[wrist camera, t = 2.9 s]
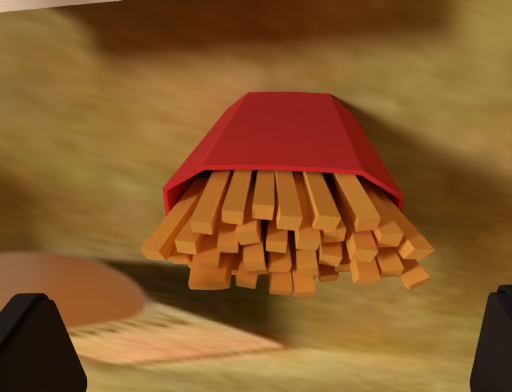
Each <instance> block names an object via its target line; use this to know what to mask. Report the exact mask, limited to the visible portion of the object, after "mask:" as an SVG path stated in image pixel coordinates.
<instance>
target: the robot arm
mask: <svg viewBox="0 0 512 392" xmlns="http://www.w3.org/2000/svg"><path fill="white" fill-rule="evenodd" d="M86 389H87V377H86V375H85V372H84V370H83V368H82V365H81V363H80V360H79V358H78V356H77V353H76V351H75V349H74V346H73V344H72V342H71V339H70V337H69V335H68V332H67V330H66V328H65V325H64V323H63V320H62V318H61V316H60V313H59V311H58V309H57V307H56V304H55V303H54V301H53V300H49V298H48V297H47V295H45V294H44V293H24V294H16V295H14V296H13V297H12V298H11V299H10V301H9V302H8V303H7V305H6V306H5V307H4V308H3V310H2V311H1V312H0V392H86ZM470 389H471V392H512V285H500V286H499V287H498V289H497V292H492V293H490V294H489V296H488V300H487V304H486V309H485V314H484V318H483V323H482V327H481V332H480V336H479V341H478V345H477V350H476V354H475V359H474V364H473V368H472V373H471V377H470Z"/></svg>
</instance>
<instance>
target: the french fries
mask: <svg viewBox="0 0 512 392" xmlns="http://www.w3.org/2000/svg"><path fill="white" fill-rule="evenodd" d="M163 195H164V203H165V211H166V217H165V219H164V220H163V221H162V222H161V223H160V225H159V226H158V227H157V228H156V230H155V231H154V232H153V233H152V235H151V236H150V237H149V238H148V240H147V241H146V242H145V243H144V245H143V246H142V247H141V248H140V250H141V252H142V253H143V254H144V255H145V256H146V257H147V259H153V260H164V261H166V260H167V258H168V259H169V260H170V261H171V262H172V263H173V264H188V266H189V267H190V268H191V271H190V277H189V283H188V285H189V287H190V289H203V290H209V289H210V290H217V289H226V288H230V281H231V274H233V275H236V286H241V287H247V288H253V289H255V288H256V283H257V278H258V274H266V273H268V271H269V272H270V294H280V295H289V294H290V293H291V291H292V285H291V274H292V281H293V288H294V295H295V298H303V297H314V296H315V292H316V290H315V285H314V280H313V279H315V277H316V276H317V275H318V277H319V281H320V282H324V281H335V280H337V278H338V276H339V273H338V272H347V271H351V274H352V279H353V283H354V284H366V285H374V284H376V283H377V282H378V281H380V280H381V279H383V278H386V277H392V276H398V277H399V278H400V280H401V281H402V282H403V284H404V285H405V286H406V288H407V289H408V291H409V290H411V289H414V288H416V287H418V286H421V285H423V284H425V283H427V281H428V280H429V278H430V277H429V275H428V274H427V273H426V272H425V271H424V269H423V268H422V267H421V266H420V265H419V263H418V262H417V261H416V260H415V259H419V260H423V259H424V258H425V257H426V256H427V255H429V254H430V253H431V252H432V251H433V250H435V249H434V248H433V247H432V246H431V245H430V244H429V242H428V241H427V240H426V239H425V238H424V237H423V236H422V235H421V233H420V232H419V231H418V230H417V229H416V228H415V227H414V226H413V225H412V223H411V222H410V221H409V220H408V219H407V218H406V217H405V216H404V215H403V214H402V207H403V201H404V196H403V195H402V193H401V192H400V190H399V188H398V187H397V185H396V184H395V182H394V180H393V179H392V177H391V176H390V174H389V172H388V171H387V169H386V168H385V166H384V164H383V163H382V161H381V160H380V158H379V156H378V155H377V153H376V152H375V150H374V148H373V147H372V145H371V144H370V142H369V140H368V139H367V137H366V136H365V134H364V132H363V131H362V129H361V128H360V126H359V124H358V123H357V121H356V120H355V118H354V116H353V115H352V113H351V112H350V111H349V110H348V109H347V108H345V107H344V106H343V105H342V104H341V103H340V102H338V101H337V100H336V99H335V98H334V97H333V96H331V95H330V94H323V93H306V92H249V93H247V94H246V95H245V96H243V97H242V98H241V99H240V100H238V101H237V102H236V103H234V104H233V105H232V106H231V107H229V108H228V109H227V110H226V111H225V113H224V114H223V115H222V116H221V117H220V119H219V120H218V121H217V122H216V124H215V125H214V126H213V127H212V129H211V130H210V131H209V132H208V133H207V135H206V136H205V137H204V138H203V140H202V141H201V142H200V143H199V145H198V146H197V147H196V148H195V149H194V151H193V152H192V153H191V154H190V156H189V157H188V158H187V159H186V161H185V162H184V163H183V164H182V165H181V167H180V168H179V169H178V170H177V172H176V173H175V174H174V175H173V177H172V178H171V179H170V180H169V181H168V183H167V184H166V185H165V186H164V188H163Z"/></svg>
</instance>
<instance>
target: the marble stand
mask: <svg viewBox="0 0 512 392" xmlns="http://www.w3.org/2000/svg"><path fill="white" fill-rule="evenodd" d="M110 1H120V0H0V12H6V11H16V10H26V9H37V8H47V7H58V6H68V5H78V4H89V3H99V2H110Z"/></svg>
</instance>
